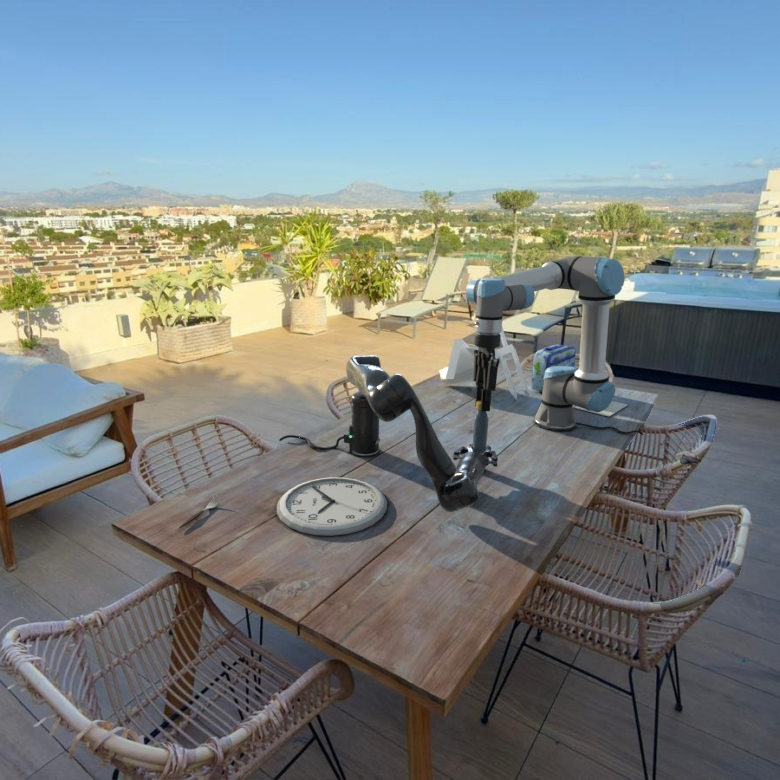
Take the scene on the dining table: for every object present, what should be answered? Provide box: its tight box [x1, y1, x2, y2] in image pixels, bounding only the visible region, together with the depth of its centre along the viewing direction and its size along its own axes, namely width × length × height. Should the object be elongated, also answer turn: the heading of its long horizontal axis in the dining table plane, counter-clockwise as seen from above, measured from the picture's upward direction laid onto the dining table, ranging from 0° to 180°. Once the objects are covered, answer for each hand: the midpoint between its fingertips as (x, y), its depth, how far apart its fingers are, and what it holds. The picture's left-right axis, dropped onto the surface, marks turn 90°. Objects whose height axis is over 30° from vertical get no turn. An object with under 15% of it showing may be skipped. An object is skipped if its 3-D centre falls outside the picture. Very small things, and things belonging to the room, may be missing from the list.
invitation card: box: [573, 400, 629, 418], centre depth 226 cm, size 21×1×15 cm
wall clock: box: [276, 476, 388, 537], centre depth 142 cm, size 30×2×30 cm
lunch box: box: [530, 344, 577, 392], centre depth 247 cm, size 26×11×21 cm, turn 134°
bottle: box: [472, 409, 489, 453], centre depth 162 cm, size 4×4×22 cm
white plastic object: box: [438, 326, 531, 400], centre depth 245 cm, size 37×45×31 cm
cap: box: [475, 401, 481, 410], centre depth 159 cm, size 4×4×2 cm
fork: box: [178, 493, 223, 529], centre depth 137 cm, size 3×16×2 cm, turn 160°
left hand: (480, 446), depth 166 cm, fingers closed on bottle, 4 cm apart
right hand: (482, 408), depth 159 cm, fingers closed on cap, 4 cm apart
